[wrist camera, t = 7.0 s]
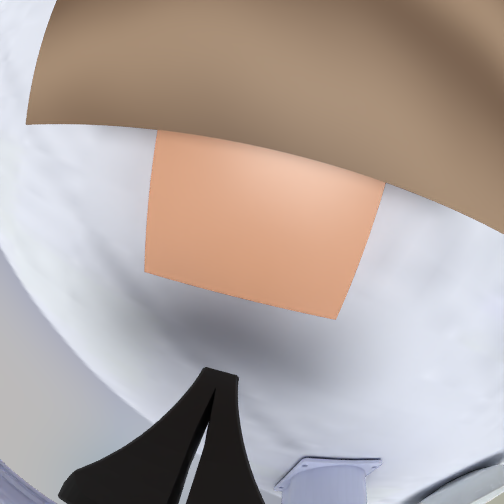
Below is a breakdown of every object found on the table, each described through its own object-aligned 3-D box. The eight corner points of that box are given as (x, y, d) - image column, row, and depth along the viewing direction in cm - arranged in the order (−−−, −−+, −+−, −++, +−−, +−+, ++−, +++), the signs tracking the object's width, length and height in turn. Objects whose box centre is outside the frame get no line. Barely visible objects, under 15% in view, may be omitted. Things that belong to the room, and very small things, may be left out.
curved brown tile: (449, 202, 10) (516, 241, 6) (102, 120, 11) (25, 124, 6) (476, 34, 6) (536, 12, 2) (149, -37, 7) (100, -79, 3)
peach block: (327, 279, 12) (335, 319, 9) (174, 242, 12) (144, 271, 10) (386, 57, 8) (414, 35, 5) (215, 21, 8) (192, -10, 6)
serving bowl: (376, 508, 27) (377, 540, 20) (486, 447, 18) (498, 485, 12) (437, 502, 28) (440, 526, 22) (520, 448, 20) (529, 474, 14)
